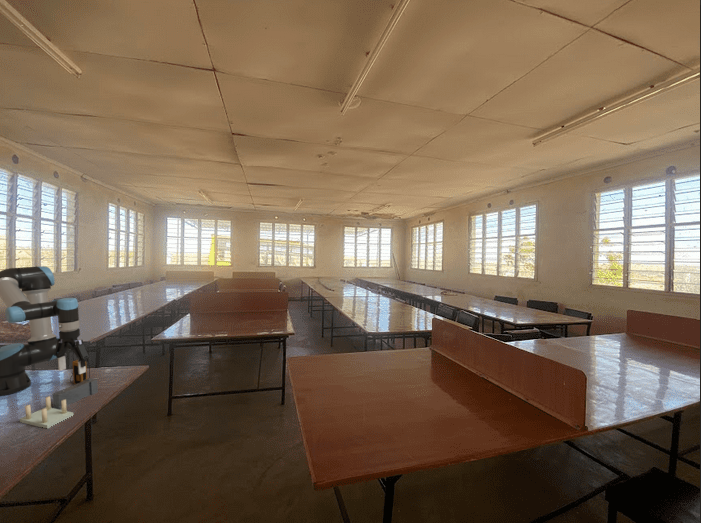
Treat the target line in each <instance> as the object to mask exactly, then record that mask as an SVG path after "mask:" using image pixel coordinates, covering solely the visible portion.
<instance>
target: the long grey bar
mask: <svg viewBox="0 0 701 523" xmlns="http://www.w3.org/2000/svg"><path fill="white" fill-rule="evenodd" d="M92 379H93V378H91V377H90V378H89V377H87V379H86V380H83V381H82V382H80V383H78V384H73V385H71V386H68V387H65V388H64V389H61V390H59V391H56V392H55V393H52V406H53V407H52V408H54V409H59V410H62V405H61V401H62V400H65V399H66V407H68V406H70V405H72V404H74V403H76V402H78V401H80V400H82V398H83V399H84V397H85V398H87V397H89V396H93V395H95V394H97V393H99V389H98V386H99V385H98V384H99V383H98V378H97V379H93V380H92ZM71 403H72V404H71ZM69 404H70V405H69ZM67 405H68V406H67Z"/></svg>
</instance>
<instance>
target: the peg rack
mask: <svg viewBox="0 0 701 523" xmlns="http://www.w3.org/2000/svg"><path fill="white" fill-rule="evenodd" d="M61 405H62V408H61V409H56V408H53V407H52V402H51V396H46V397H45V407H43V408H41V409H39V410H37V411H34V412H32V408H31V404H26V405H25V406H24V408H25V410H24V411H25V416H23V417H21V418H19V423H21V422H22V424H26V425H31V426H35V427H37V428H38V427H39V428H42V427H43V428H42V429H46V428H47V430H48V429H50V428H52V427H54V426H55V424H56V425H58V424H60V423H61V421H62V422H64V421H66V420H68V419H70V418H72V417H73V415H74V412H72V411H68V410H67V409H68V408H67V407H68V406H66V399H65V400H62V401H61ZM71 416H72V417H71ZM69 417H70V418H69ZM67 418H68V419H67ZM65 419H66V420H65ZM63 420H64V421H63ZM59 422H60V423H59ZM57 423H58V424H57ZM53 425H54V426H53ZM51 426H52V427H51Z"/></svg>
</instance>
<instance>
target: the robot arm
mask: <svg viewBox="0 0 701 523" xmlns="http://www.w3.org/2000/svg"><path fill="white" fill-rule="evenodd" d="M55 281H56V280H55V276H54V272H53V271H52V270H51V268H50V267H48V266H37V265H36V266H29V267H28V266H25V267H10V268H5V269H1V270H0V298H1V300H2V302H3V304H4V305H5V306H6V309H5V318H6V322H8V323H10V324H14V323H23V322H28V321H29V322H28V323H29V332H30V338H28V340H27V344H23V343H21V342H17V343H11V344H7V345H4V346H1V347H0V397H2V396H9V395H12V394H16V393H19V392H21V391H24V390H27V389H28V388H30V387H31V385H32V381H31V378H30V376H29V375H28V373H27V372H26V367H30V366H33V365H37V364H40V363H44V362H50V361H52V360H56V359H57V367H58V368H57V369H58V371H59V372H60V371H64V370H66V369H67V362H66V353H67V351H68V349H69V350H70V351H72V352H74V355H75V356H76V358H77V360H78V359H79V361H78V371H79V374H82V373H85V372H86V366H87V359H88V360H89V358H90V356H89V354H88V352H87V350H86V347H85V344H84V340H83V339H78V338H79V337H80V335H81V331H80V327H81V326H80V316H79V302H78V298H75V297H65V298H60V299H53V300H51V301H49V291H51V290H52V288H51V287H53V286H54V285H55ZM52 317H57V320H58V321H57V322H58V325H57V326H58V330H59V332H58V335H59V337H57V334H54V333H53V328H52V319H51V318H52ZM85 361H86V362H85Z"/></svg>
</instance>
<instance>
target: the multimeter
mask: <svg viewBox="0 0 701 523" xmlns="http://www.w3.org/2000/svg"><path fill="white" fill-rule="evenodd" d="M72 352H73V351H72ZM72 355H75V353H74V352H73V353H72ZM72 359H73V361H71V363H72V374H71V376H70V379H69V382H70V383H73V385H75V384H78V383H80V382H82V381H83V380H86V379H88V378H91V377H90V376H91V375H90V374H91V368H90V362H89V358H88V359H86V360H85V362H86V363H87V364H88V369H87V365H86V372H85V373H82V374H79V371H78V361H79V359H78V358H77V359H74V357H72ZM88 373H89V375H88ZM88 376H89V377H88ZM72 378H73V381H71V379H72ZM93 379H97V380H98V377H94V378H92V380H93Z"/></svg>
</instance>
